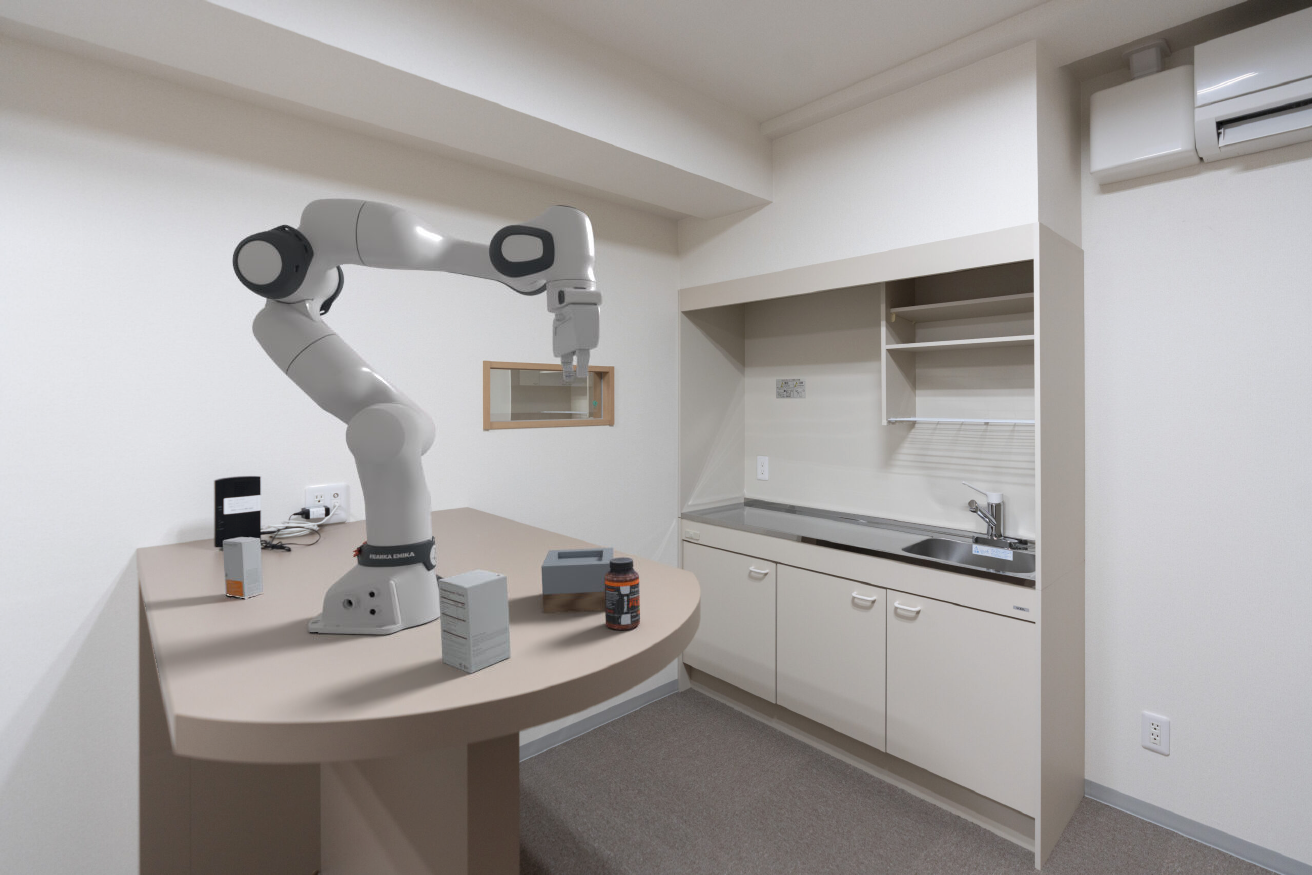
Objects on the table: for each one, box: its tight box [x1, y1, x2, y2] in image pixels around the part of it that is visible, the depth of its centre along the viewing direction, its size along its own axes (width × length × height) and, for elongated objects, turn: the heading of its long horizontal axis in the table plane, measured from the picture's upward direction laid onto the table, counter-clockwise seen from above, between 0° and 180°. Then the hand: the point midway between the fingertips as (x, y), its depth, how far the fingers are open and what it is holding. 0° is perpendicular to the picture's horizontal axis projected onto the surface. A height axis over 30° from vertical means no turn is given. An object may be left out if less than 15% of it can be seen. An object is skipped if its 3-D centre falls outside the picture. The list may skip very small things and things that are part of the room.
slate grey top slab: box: [540, 547, 615, 595], centre depth 121 cm, size 13×13×5 cm
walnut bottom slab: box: [542, 592, 605, 614], centre depth 121 cm, size 13×13×4 cm
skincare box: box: [222, 536, 264, 597], centre depth 131 cm, size 6×4×12 cm
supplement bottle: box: [604, 556, 641, 631], centre depth 106 cm, size 6×6×11 cm
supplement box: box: [437, 568, 512, 674], centre depth 93 cm, size 7×7×13 cm
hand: (575, 379), depth 112 cm, fingers open, 8 cm apart
